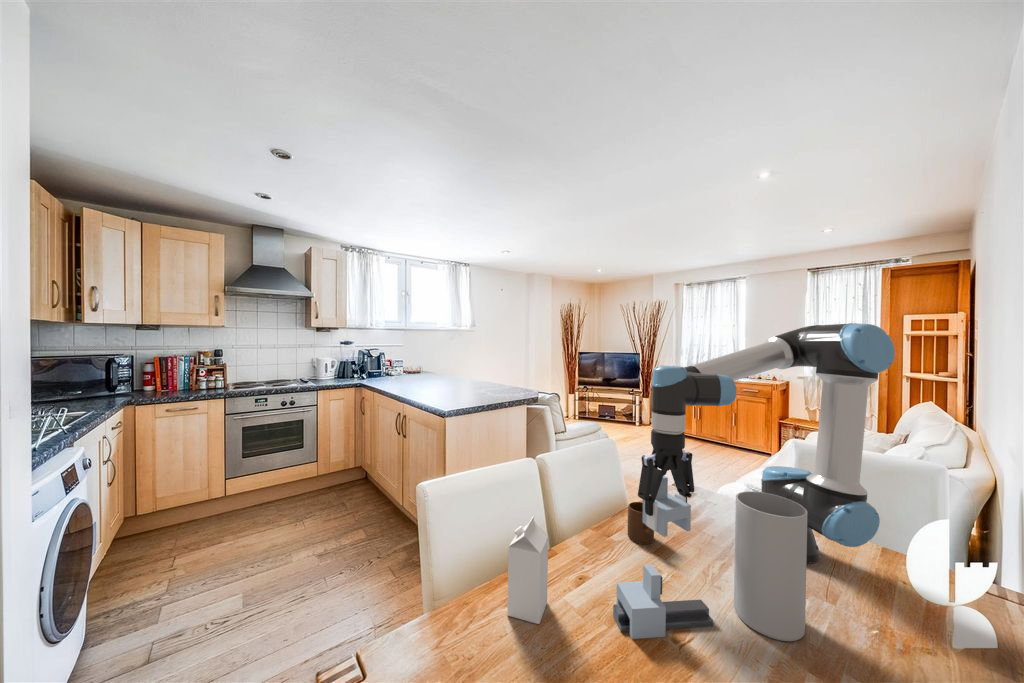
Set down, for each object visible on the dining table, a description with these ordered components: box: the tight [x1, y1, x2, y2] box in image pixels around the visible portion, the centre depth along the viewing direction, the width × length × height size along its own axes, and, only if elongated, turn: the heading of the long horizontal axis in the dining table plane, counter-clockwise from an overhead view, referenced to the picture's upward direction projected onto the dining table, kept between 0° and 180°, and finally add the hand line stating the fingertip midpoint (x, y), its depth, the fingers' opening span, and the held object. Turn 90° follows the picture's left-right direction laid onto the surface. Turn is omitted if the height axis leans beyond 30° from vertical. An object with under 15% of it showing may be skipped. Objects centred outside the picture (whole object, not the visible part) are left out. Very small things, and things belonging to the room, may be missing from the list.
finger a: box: [615, 564, 666, 640], centre depth 77 cm, size 8×8×11 cm
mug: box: [627, 501, 655, 545], centre depth 108 cm, size 12×8×9 cm, turn 2°
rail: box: [612, 599, 714, 633], centre depth 77 cm, size 20×4×3 cm, turn 96°
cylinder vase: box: [733, 491, 807, 642], centre depth 78 cm, size 12×12×25 cm
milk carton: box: [507, 515, 549, 625], centre depth 80 cm, size 7×7×19 cm
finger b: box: [642, 475, 692, 538], centre depth 88 cm, size 8×8×11 cm
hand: (666, 524), depth 88 cm, fingers closed on finger b, 8 cm apart
